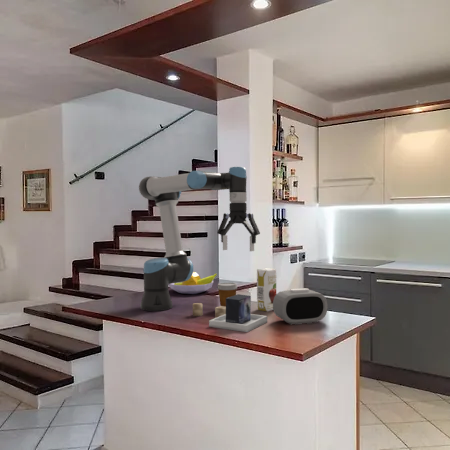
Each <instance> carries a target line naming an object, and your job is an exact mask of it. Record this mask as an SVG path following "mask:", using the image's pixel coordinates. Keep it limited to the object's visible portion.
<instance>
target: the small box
mask: <svg viewBox="0 0 450 450" xmlns="http://www.w3.org/2000/svg"><path fill="white" fill-rule="evenodd" d="M251 298H252V297H251V295H246V294H237V293H236V295H234V296H231V297H228V298H226V322H229V323H236V324H243V323H246V322H248V321H250V317H251V316H250V314H251V300H252V299H251Z"/></svg>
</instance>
